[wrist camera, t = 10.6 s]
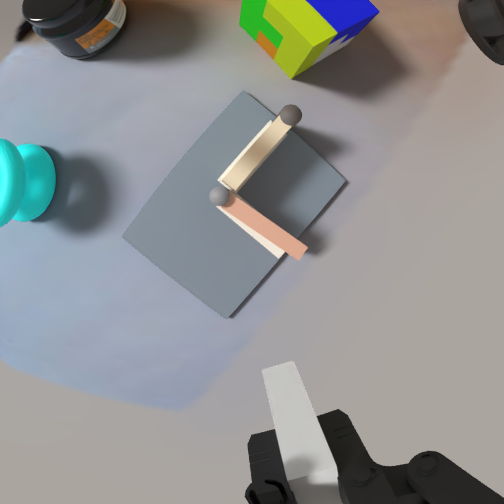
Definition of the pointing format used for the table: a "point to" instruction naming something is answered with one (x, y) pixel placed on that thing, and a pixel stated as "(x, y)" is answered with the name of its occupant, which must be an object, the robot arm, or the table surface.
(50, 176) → the donuts
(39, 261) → the table surface
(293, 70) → the puzzle toy
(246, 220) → the salmon gate panel
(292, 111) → the rail
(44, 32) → the supplement container
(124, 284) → the table surface
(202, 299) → the card
